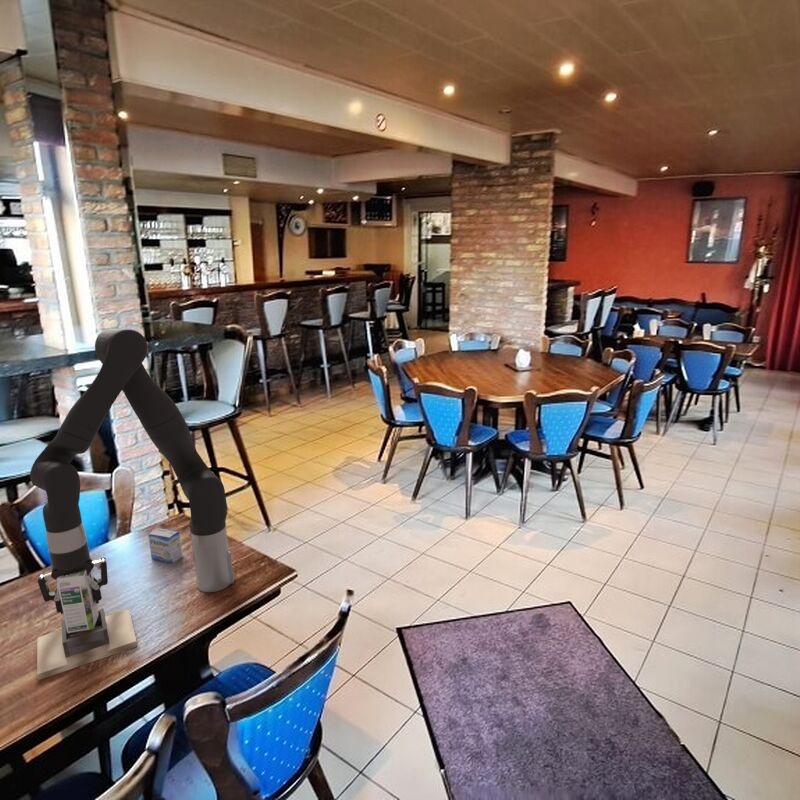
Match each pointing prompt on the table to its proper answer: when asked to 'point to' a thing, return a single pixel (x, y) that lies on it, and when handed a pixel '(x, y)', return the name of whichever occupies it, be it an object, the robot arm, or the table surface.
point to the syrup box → (77, 602)
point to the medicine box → (165, 545)
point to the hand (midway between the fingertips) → (80, 606)
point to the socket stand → (84, 644)
